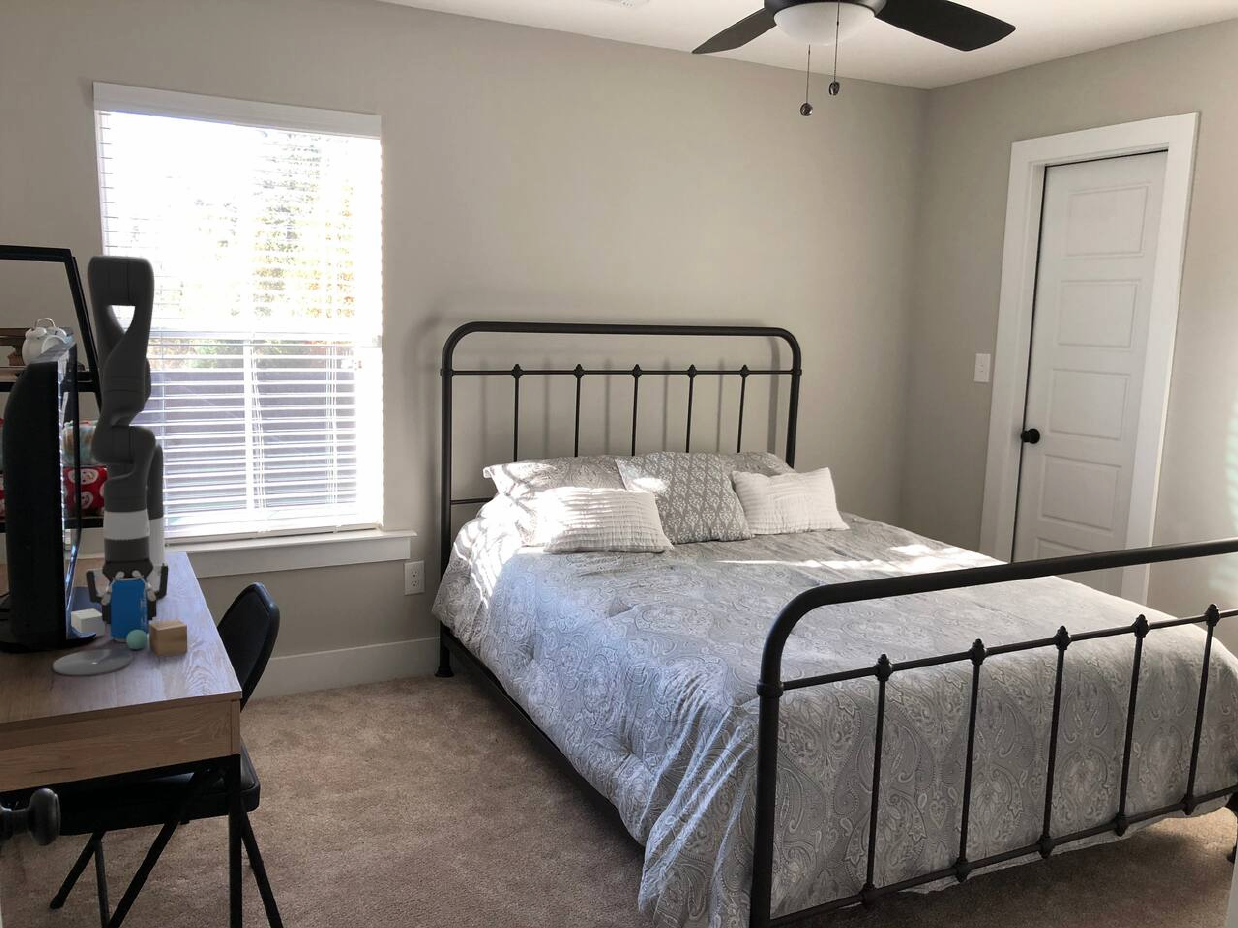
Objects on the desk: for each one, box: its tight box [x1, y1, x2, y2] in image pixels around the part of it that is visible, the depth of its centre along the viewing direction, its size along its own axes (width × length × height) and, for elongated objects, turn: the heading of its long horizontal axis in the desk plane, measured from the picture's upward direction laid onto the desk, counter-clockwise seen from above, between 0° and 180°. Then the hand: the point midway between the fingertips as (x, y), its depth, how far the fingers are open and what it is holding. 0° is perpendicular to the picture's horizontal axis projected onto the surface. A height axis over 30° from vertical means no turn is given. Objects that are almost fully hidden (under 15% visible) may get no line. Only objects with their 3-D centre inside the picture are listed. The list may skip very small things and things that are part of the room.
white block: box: [70, 607, 106, 638], centre depth 190 cm, size 6×4×4 cm, turn 45°
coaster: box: [53, 648, 133, 677], centre depth 174 cm, size 12×12×1 cm
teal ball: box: [125, 630, 149, 650], centre depth 182 cm, size 4×4×4 cm
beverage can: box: [108, 575, 150, 643], centre depth 187 cm, size 6×6×12 cm
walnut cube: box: [148, 618, 188, 658], centre depth 182 cm, size 5×5×5 cm
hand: (129, 621), depth 188 cm, fingers closed on beverage can, 6 cm apart
